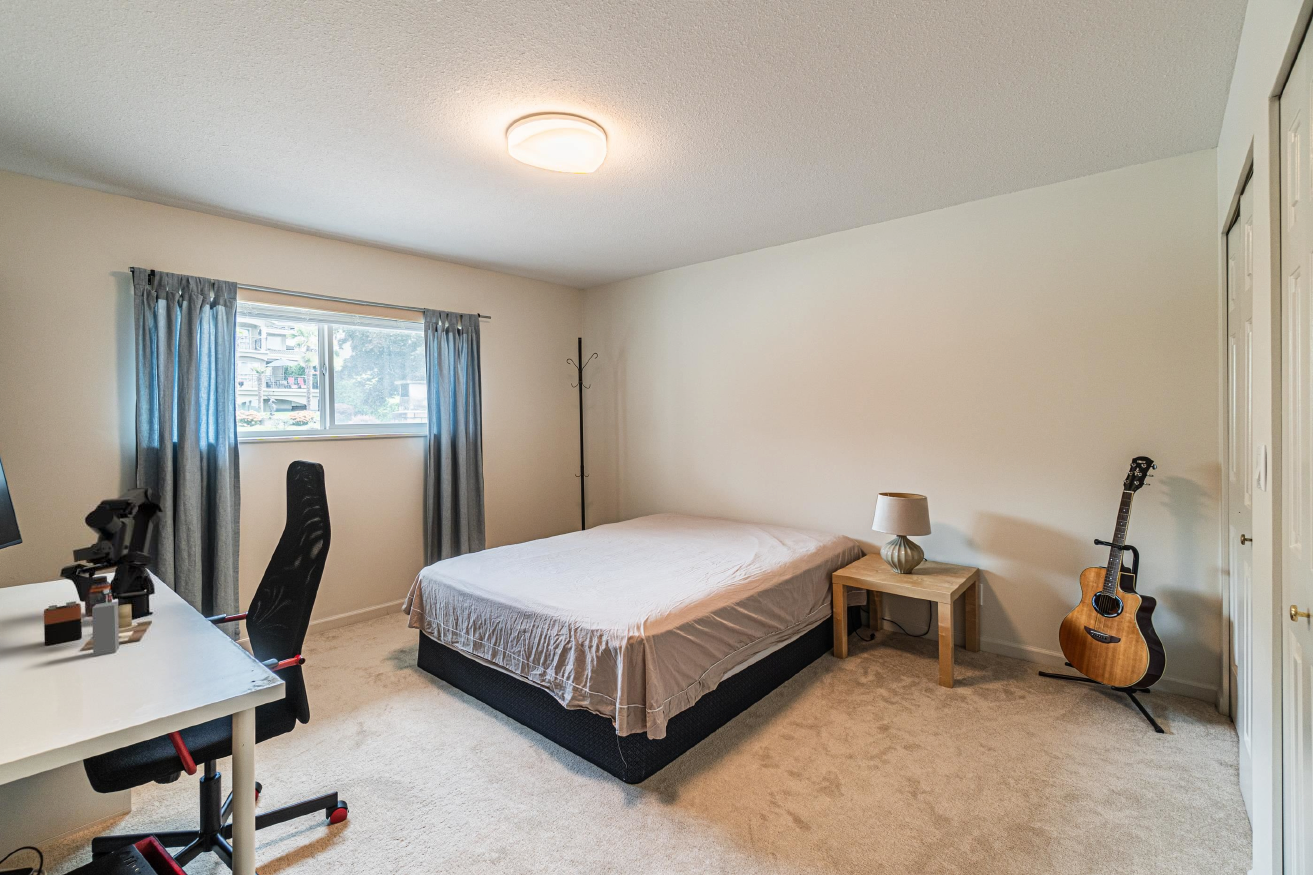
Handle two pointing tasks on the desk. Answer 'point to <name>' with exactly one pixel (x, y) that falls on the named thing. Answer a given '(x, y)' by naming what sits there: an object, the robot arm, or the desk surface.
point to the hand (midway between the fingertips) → (101, 597)
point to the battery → (62, 623)
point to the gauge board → (125, 628)
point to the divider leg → (105, 628)
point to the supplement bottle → (98, 594)
